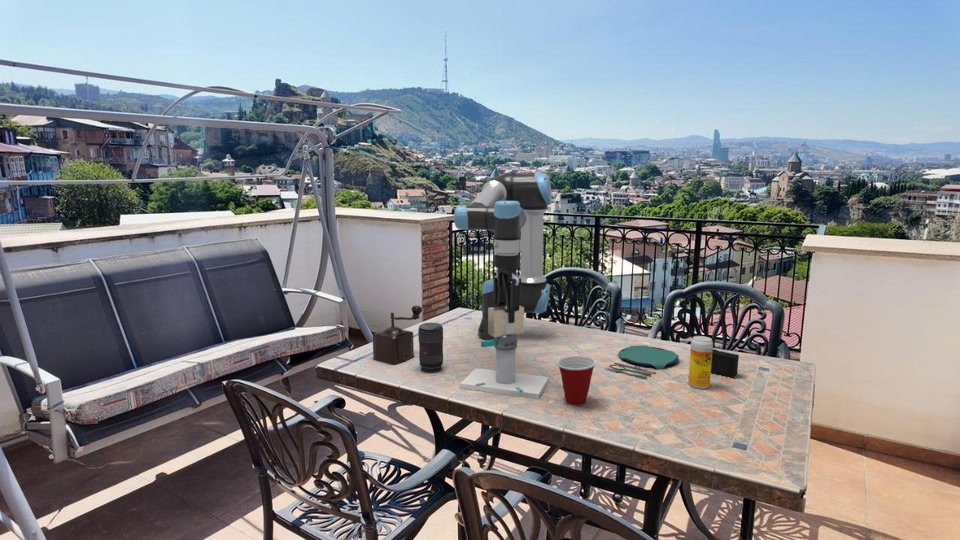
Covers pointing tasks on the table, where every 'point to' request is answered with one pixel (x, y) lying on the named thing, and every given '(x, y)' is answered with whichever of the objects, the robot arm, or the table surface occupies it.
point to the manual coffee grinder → (395, 341)
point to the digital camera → (724, 363)
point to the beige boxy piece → (503, 328)
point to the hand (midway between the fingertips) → (505, 330)
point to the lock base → (505, 378)
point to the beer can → (700, 362)
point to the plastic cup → (576, 377)
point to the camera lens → (430, 347)
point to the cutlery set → (644, 359)
